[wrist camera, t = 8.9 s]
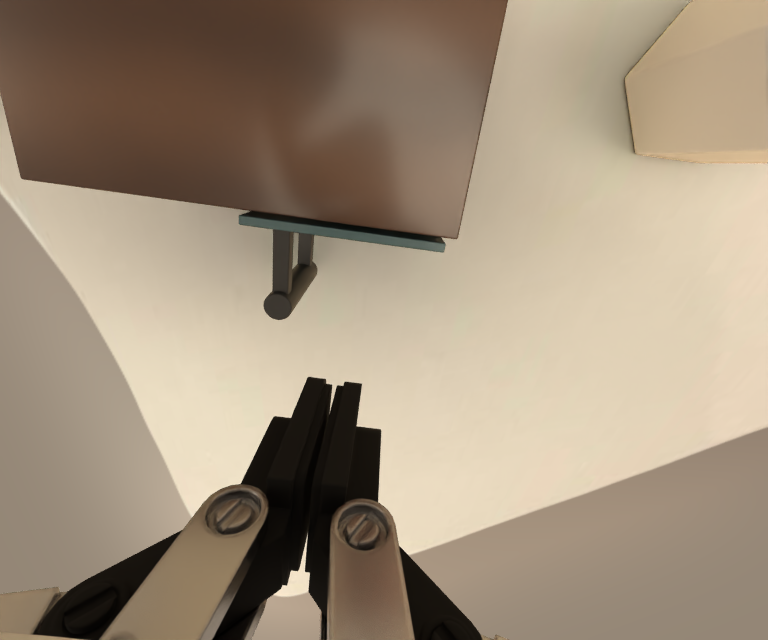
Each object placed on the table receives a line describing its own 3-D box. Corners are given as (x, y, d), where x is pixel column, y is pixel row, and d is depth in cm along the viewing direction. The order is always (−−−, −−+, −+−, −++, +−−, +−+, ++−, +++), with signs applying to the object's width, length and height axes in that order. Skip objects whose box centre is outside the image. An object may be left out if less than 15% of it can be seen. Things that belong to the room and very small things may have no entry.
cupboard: (431, 208, 25) (457, 239, 15) (172, 172, 25) (20, 179, 14) (466, 10, 21) (536, -132, 11) (153, -40, 20) (-82, -241, 10)
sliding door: (413, 287, 26) (424, 348, 18) (291, 270, 26) (240, 325, 17) (425, 214, 24) (445, 243, 16) (294, 196, 24) (238, 215, 15)
